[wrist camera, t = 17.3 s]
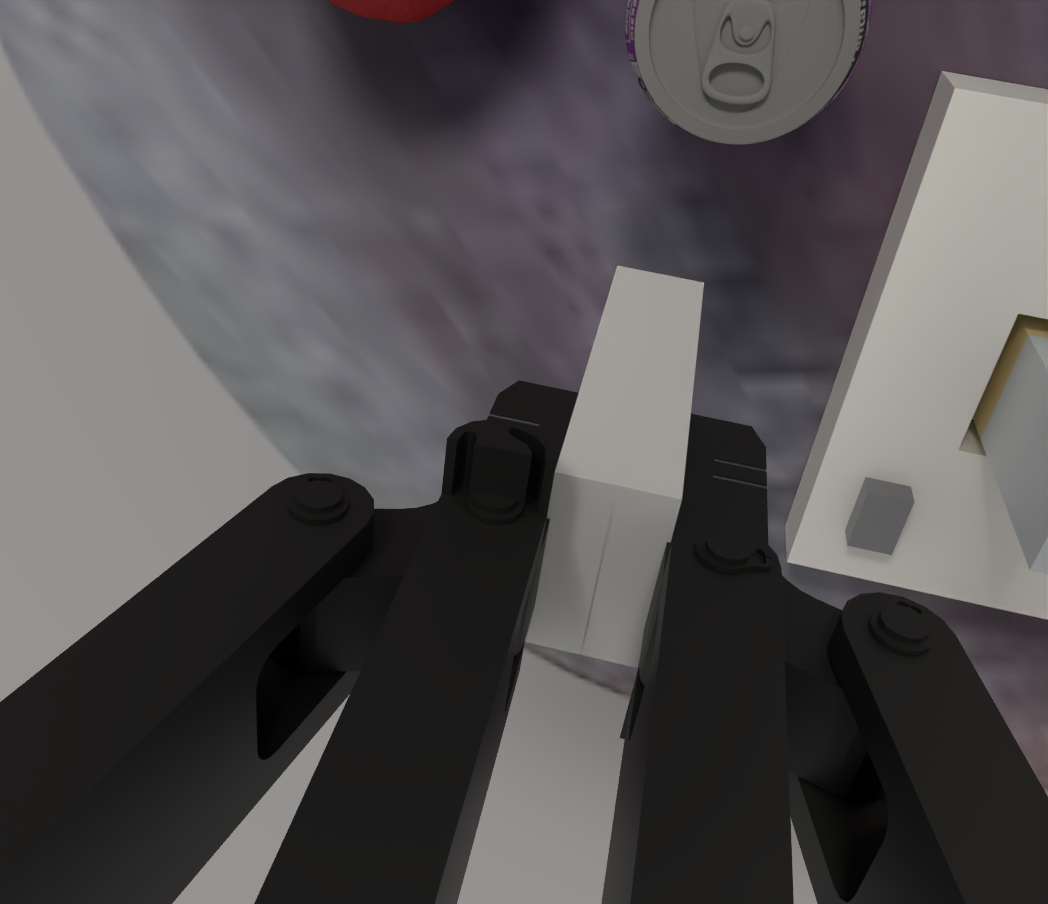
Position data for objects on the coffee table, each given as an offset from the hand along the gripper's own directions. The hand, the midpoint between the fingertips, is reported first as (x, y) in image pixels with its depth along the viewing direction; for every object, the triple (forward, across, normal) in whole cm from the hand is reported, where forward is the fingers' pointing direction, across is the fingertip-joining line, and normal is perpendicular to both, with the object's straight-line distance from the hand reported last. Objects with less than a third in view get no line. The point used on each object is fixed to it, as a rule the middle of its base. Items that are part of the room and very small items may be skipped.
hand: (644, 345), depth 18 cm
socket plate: (+26, +17, -10) cm, 33 cm away
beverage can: (+27, +1, +3) cm, 27 cm away
